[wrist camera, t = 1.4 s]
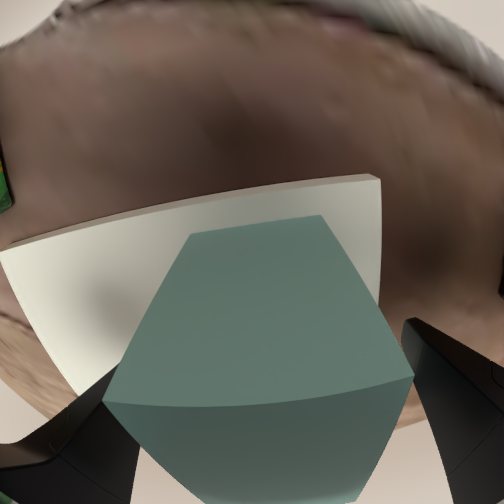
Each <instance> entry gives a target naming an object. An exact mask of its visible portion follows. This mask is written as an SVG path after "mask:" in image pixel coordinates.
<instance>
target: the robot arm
mask: <svg viewBox="0 0 504 504" xmlns="http://www.w3.org/2000/svg"><path fill="white" fill-rule="evenodd" d="M500 297H501V298H502V299H503V300H504V279H503V283H502V286H501V290H500ZM401 343H402V347H403V350H404V353H405V356H406V359H407V361H408V362H409V364H410V366H411V368H412V370H413V372H414V375H415V376H414V379H413V382H414V385H415V388H416V390H417V392H418V395H419V397H420V400H421V403H422V405H423V408H424V410H425V413H426V416H427V418H428V421H429V424H430V427H431V429H432V432H433V435H434V438H435V441H436V444H437V447H438V450H439V453H440V456H441V459H442V463H443V466H444V469H445V472H446V476H447V480H448V483H449V487H450V491H451V495H452V498H453V503H454V504H504V368H503V367H501V366H500V365H498V364H496V363H495V362H493V361H490V360H489V359H488V358H486V357H484V356H483V355H481V354H479V353H478V352H476V351H474V350H472V349H471V348H469V347H467V346H466V345H464V344H462V343H460V342H459V341H457V340H455V339H453V338H452V337H450V336H448V335H446V334H445V333H443V332H441V331H439V330H438V329H436V328H434V327H432V326H431V325H429V324H427V323H425V322H424V321H422V320H420V319H418V318H416V317H414V318H410V319H406V320H405V322H404V325H403V331H402V336H401ZM118 365H119V364H117V365H116V366H115V367H114V368H113V369H111V370H110V371H109V372H108V373H107V374H105V375H104V376H103V377H102V378H101V379H99V380H98V381H97V382H96V383H94V384H93V385H92V386H91V387H90V388H88V389H87V390H86V391H85V392H84V393H82V394H81V395H80V396H79V397H78V398H76V399H75V400H74V401H73V402H72V403H70V404H69V405H68V407H66V408H64V409H63V410H62V411H61V412H60V413H58V414H57V415H56V416H55V417H53V418H52V419H51V420H49V421H48V422H47V423H45V424H44V425H42V426H41V427H40V428H38V429H37V430H35V431H34V432H32V433H31V434H29V435H28V436H26V437H25V438H23V439H22V440H20V441H18V442H15V443H10V444H0V504H130V501H131V494H132V489H133V482H134V477H135V471H136V466H137V460H138V456H139V450H140V444H139V443H138V442H137V441H136V440H135V439H134V438H133V437H132V436H131V435H130V434H129V433H128V431H127V430H126V429H125V428H124V427H123V426H122V425H121V423H120V422H119V421H118V420H117V419H116V418H115V416H114V415H113V414H112V413H111V411H110V410H109V409H108V408H107V406H106V405H105V404H104V403H103V401H102V399H103V397H104V395H105V393H106V390H107V388H108V386H109V384H110V382H111V380H112V378H113V376H114V373H115V371H116V369H117V367H118Z"/></svg>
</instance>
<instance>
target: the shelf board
mask: <svg viewBox="0 0 504 504" xmlns="http://www.w3.org/2000/svg"><path fill="white" fill-rule="evenodd" d="M314 215H321V216H322V217H323V219H324V220H325V222H326V223H327V225H328V226H329V228H330V229H331V231H332V232H333V234H334V235H335V237H336V238H337V240H338V241H339V243H340V244H341V246H342V248H343V249H344V251H345V252H346V254H347V255H348V257H349V259H350V260H351V262H352V263H353V265H354V267H355V268H356V270H357V271H358V273H359V275H360V276H361V278H362V280H363V281H364V283H365V285H366V286H367V288H368V290H369V291H370V293H371V295H372V297H373V298H374V300H375V302H376V303H377V305H378V300H379V287H380V270H381V240H382V210H381V180H380V179H379V178H377V177H375V176H373V175H371V174H357V175H346V176H336V177H327V178H318V179H310V180H302V181H294V182H287V183H279V184H272V185H265V186H259V187H252V188H246V189H240V190H234V191H228V192H222V193H216V194H210V195H205V196H200V197H194V198H189V199H184V200H179V201H174V202H169V203H164V204H159V205H155V206H150V207H145V208H141V209H136V210H132V211H128V212H123V213H119V214H115V215H111V216H107V217H103V218H99V219H95V220H91V221H87V222H83V223H79V224H76V225H72V226H68V227H65V228H61V229H58V230H54V231H51V232H47V233H44V234H40V235H37V236H34V237H30V238H27V239H24V240H21V241H18V242H15V243H12V244H9V245H8V246H7V247H5V248H4V249H2V250H1V251H0V261H1V264H2V266H3V268H4V271H5V273H6V275H7V278H8V280H9V282H10V285H11V287H12V289H13V291H14V293H15V295H16V297H17V299H18V301H19V303H20V305H21V307H22V309H23V311H24V313H25V315H26V317H27V319H28V320H29V322H30V324H31V326H32V328H33V329H34V331H35V333H36V335H37V336H38V338H39V340H40V341H41V343H42V345H43V346H44V348H45V349H46V351H47V352H48V354H49V356H50V357H51V359H52V360H53V362H54V363H55V365H56V366H57V368H58V369H59V370H60V372H61V373H62V375H63V376H64V377H65V379H66V380H67V382H68V383H69V384H70V386H71V387H72V388H73V390H74V391H75V392H76V393H77V395H78V396H80V395H81V394H82V393H84V392H85V391H86V390H87V389H88V388H90V387H91V386H92V385H93V384H94V383H96V382H97V381H98V380H99V379H101V378H102V377H103V376H104V375H105V374H107V373H108V372H109V371H110V370H111V369H113V368H114V367H115V366H116V365H117V364H119V363H120V361H121V359H122V357H123V355H124V353H125V351H126V349H127V347H128V345H129V343H130V341H131V339H132V337H133V335H134V333H135V332H136V330H137V328H138V326H139V324H140V322H141V320H142V318H143V316H144V314H145V313H146V311H147V309H148V307H149V305H150V303H151V302H152V300H153V298H154V296H155V294H156V292H157V291H158V289H159V287H160V285H161V283H162V282H163V280H164V278H165V276H166V275H167V273H168V271H169V269H170V268H171V266H172V264H173V262H174V261H175V259H176V257H177V256H178V254H179V252H180V250H181V249H182V247H183V245H184V244H185V242H186V240H187V239H188V237H189V235H190V234H193V233H199V232H205V231H211V230H218V229H224V228H230V227H237V226H243V225H250V224H257V223H264V222H271V221H278V220H285V219H292V218H299V217H306V216H314Z"/></svg>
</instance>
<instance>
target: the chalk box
mask: <svg viewBox="0 0 504 504" xmlns="http://www.w3.org/2000/svg"><path fill="white" fill-rule="evenodd" d="M11 205H12V201H11V198H10V196H9V192H8V189H7V185H6V181H5V177H4V173H3V169H2V164H1V159H0V214H1V213H3V212H4V211H6V210H7V209H8V208H9V207H10V206H11Z"/></svg>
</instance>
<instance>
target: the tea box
mask: <svg viewBox="0 0 504 504" xmlns="http://www.w3.org/2000/svg"><path fill="white" fill-rule="evenodd" d="M414 376H415V375H414V372H413V370H412V368H411V366H410V364H409V362H408V361H407V359H406V357H405V355H404V353H403V351H402V349H401V347H400V345H399V343H398V341H397V339H396V338H395V336H394V334H393V332H392V330H391V328H390V327H389V325H388V323H387V321H386V319H385V318H384V316H383V314H382V312H381V310H380V309H379V307H378V305H377V303H376V302H375V300H374V298H373V297H372V295H371V293H370V291H369V290H368V288H367V286H366V285H365V283H364V281H363V280H362V278H361V276H360V275H359V273H358V271H357V270H356V268H355V267H354V265H353V263H352V262H351V260H350V259H349V257H348V255H347V254H346V252H345V251H344V249H343V248H342V246H341V244H340V243H339V241H338V240H337V238H336V237H335V235H334V234H333V232H332V231H331V229H330V228H329V226H328V225H327V223H326V222H325V220H324V219H323V217H322V216H321V215H314V216H306V217H299V218H292V219H285V220H278V221H271V222H264V223H257V224H250V225H243V226H237V227H230V228H224V229H218V230H211V231H205V232H199V233H193V234H190V235H189V237H188V239H187V240H186V242H185V244H184V245H183V247H182V249H181V250H180V252H179V254H178V256H177V257H176V259H175V261H174V262H173V264H172V266H171V268H170V269H169V271H168V273H167V275H166V276H165V278H164V280H163V282H162V283H161V285H160V287H159V289H158V291H157V292H156V294H155V296H154V298H153V300H152V302H151V303H150V305H149V307H148V309H147V311H146V313H145V314H144V316H143V318H142V320H141V322H140V324H139V326H138V328H137V330H136V332H135V333H134V335H133V337H132V339H131V341H130V343H129V345H128V347H127V349H126V351H125V353H124V355H123V357H122V359H121V361H120V363H119V365H118V367H117V369H116V371H115V373H114V376H113V378H112V380H111V382H110V384H109V386H108V388H107V390H106V393H105V395H104V397H103V399H102V401H103V403H104V404H105V405H106V406H107V408H108V409H109V410H110V411H111V413H112V414H113V415H114V416H115V418H116V419H117V420H118V421H119V422H120V423H121V425H122V426H123V427H124V428H125V429H126V430H127V431H128V433H129V434H130V435H131V436H132V437H133V438H134V439H135V440H136V441H137V442H138V443H139V444H140V446H141V447H142V448H143V449H144V450H145V451H146V452H147V453H148V454H149V455H150V456H151V457H152V458H153V459H154V460H155V461H156V462H157V463H158V464H159V465H161V466H162V467H163V468H164V469H165V470H166V471H167V472H168V473H169V474H170V475H171V476H172V477H174V478H175V479H176V480H177V481H178V482H179V483H180V484H182V485H183V486H184V487H185V488H186V489H188V490H189V491H190V492H191V493H193V494H194V495H195V496H196V497H197V498H199V499H200V500H201V501H203V502H204V503H205V504H345V503H349V502H354V501H356V499H357V498H358V496H359V495H360V493H361V491H362V490H363V488H364V486H365V485H366V483H367V481H368V480H369V478H370V476H371V474H372V472H373V471H374V468H375V467H376V465H377V463H378V461H379V459H380V457H381V455H382V453H383V451H384V449H385V447H386V445H387V443H388V441H389V439H390V437H391V434H392V432H393V430H394V428H395V425H396V423H397V421H398V418H399V416H400V414H401V411H402V409H403V406H404V404H405V401H406V398H407V396H408V393H409V390H410V387H411V384H412V382H413V379H414Z"/></svg>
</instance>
